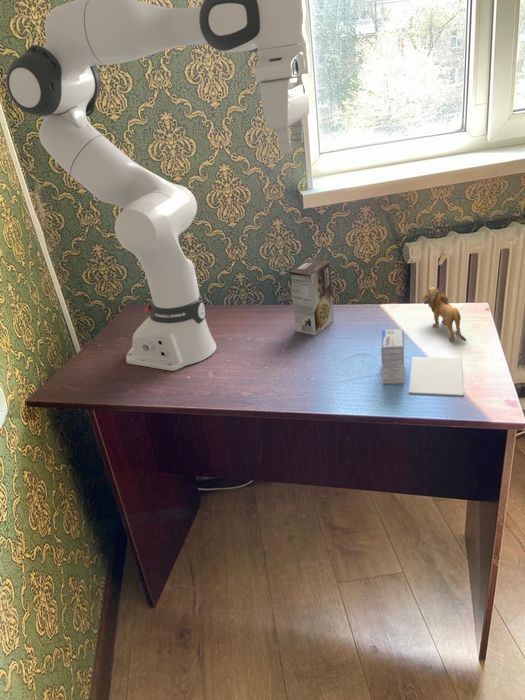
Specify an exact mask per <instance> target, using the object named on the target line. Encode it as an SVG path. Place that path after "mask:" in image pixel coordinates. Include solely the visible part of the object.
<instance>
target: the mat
mask: <svg viewBox="0 0 525 700" xmlns="http://www.w3.org/2000/svg"><path fill="white" fill-rule="evenodd" d="M408 394H415V395H432V396H433V395H434V396H435V395H436V396H452V397H453V396H454V397H455V396H456V397H463V396H464V386H463V369H462V358H461V357H429V356H427V357H426V356H411V363H410V376H409V388H408Z"/></svg>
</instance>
